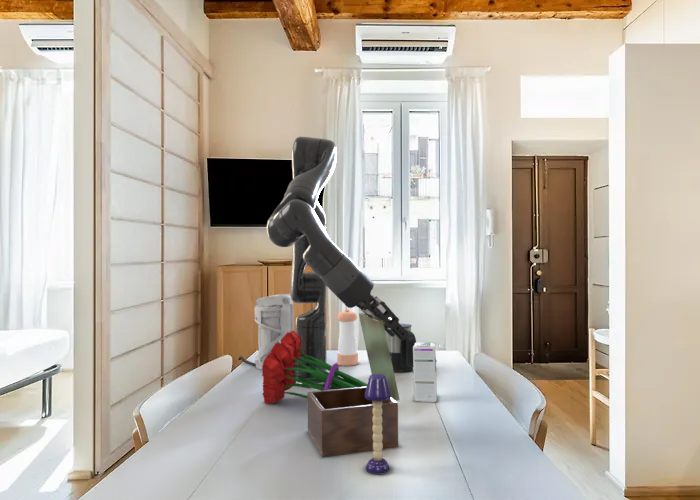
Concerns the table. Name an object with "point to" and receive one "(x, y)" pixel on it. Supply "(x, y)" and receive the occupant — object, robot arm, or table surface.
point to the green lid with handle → (378, 350)
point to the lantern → (272, 323)
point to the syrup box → (424, 372)
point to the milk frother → (402, 350)
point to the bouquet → (282, 370)
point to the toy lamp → (377, 421)
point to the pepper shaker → (347, 339)
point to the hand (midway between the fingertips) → (399, 335)
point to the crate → (348, 421)
